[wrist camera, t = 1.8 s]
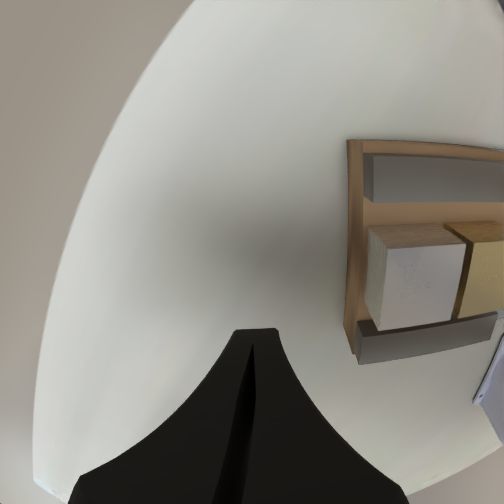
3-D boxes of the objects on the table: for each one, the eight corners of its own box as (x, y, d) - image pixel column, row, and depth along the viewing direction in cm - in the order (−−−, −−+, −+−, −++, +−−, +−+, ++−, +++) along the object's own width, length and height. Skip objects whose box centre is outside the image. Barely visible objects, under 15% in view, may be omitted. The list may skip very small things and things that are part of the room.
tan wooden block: (483, 282, 15) (509, 307, 12) (434, 289, 15) (457, 318, 13) (495, 220, 14) (526, 239, 11) (443, 222, 14) (474, 243, 11)
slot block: (459, 310, 19) (487, 345, 15) (343, 325, 20) (357, 371, 16) (481, 147, 15) (526, 157, 11) (346, 139, 16) (372, 144, 11)
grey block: (426, 290, 15) (449, 319, 13) (362, 297, 16) (378, 330, 13) (436, 222, 14) (466, 243, 11) (367, 225, 14) (388, 249, 12)
